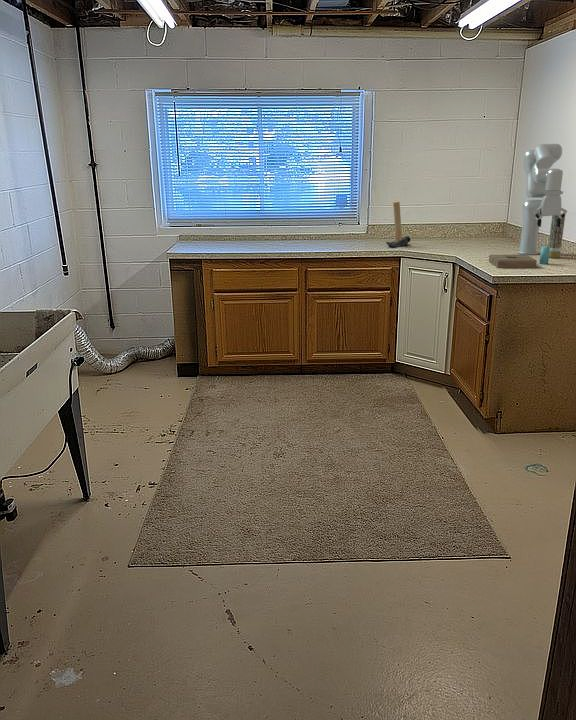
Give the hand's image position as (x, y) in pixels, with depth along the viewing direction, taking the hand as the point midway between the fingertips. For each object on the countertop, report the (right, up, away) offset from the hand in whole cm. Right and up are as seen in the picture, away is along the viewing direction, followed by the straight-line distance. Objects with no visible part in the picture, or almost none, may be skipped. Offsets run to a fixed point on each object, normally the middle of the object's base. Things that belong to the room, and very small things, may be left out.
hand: (548, 226), depth 321 cm
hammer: (-66, +4, +79) cm, 103 cm away
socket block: (-18, -20, +5) cm, 27 cm away
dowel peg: (0, -19, +7) cm, 20 cm away
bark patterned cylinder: (+14, -13, +25) cm, 32 cm away
